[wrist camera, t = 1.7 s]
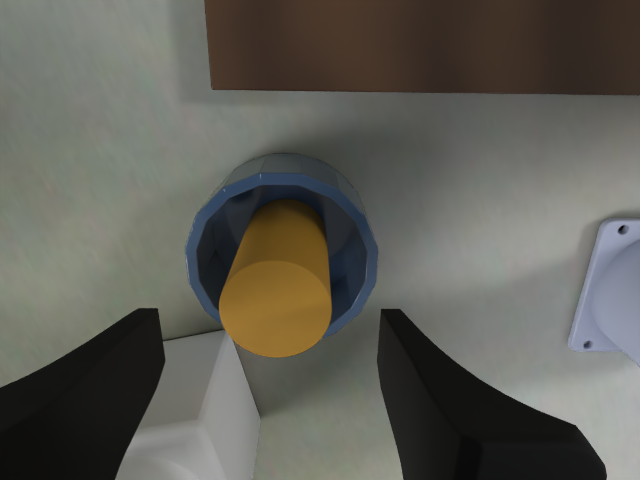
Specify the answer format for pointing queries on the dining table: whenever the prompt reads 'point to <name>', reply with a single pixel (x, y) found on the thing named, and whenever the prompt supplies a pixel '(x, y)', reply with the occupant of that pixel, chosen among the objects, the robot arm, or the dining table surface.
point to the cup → (272, 184)
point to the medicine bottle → (197, 416)
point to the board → (426, 46)
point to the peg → (279, 282)
